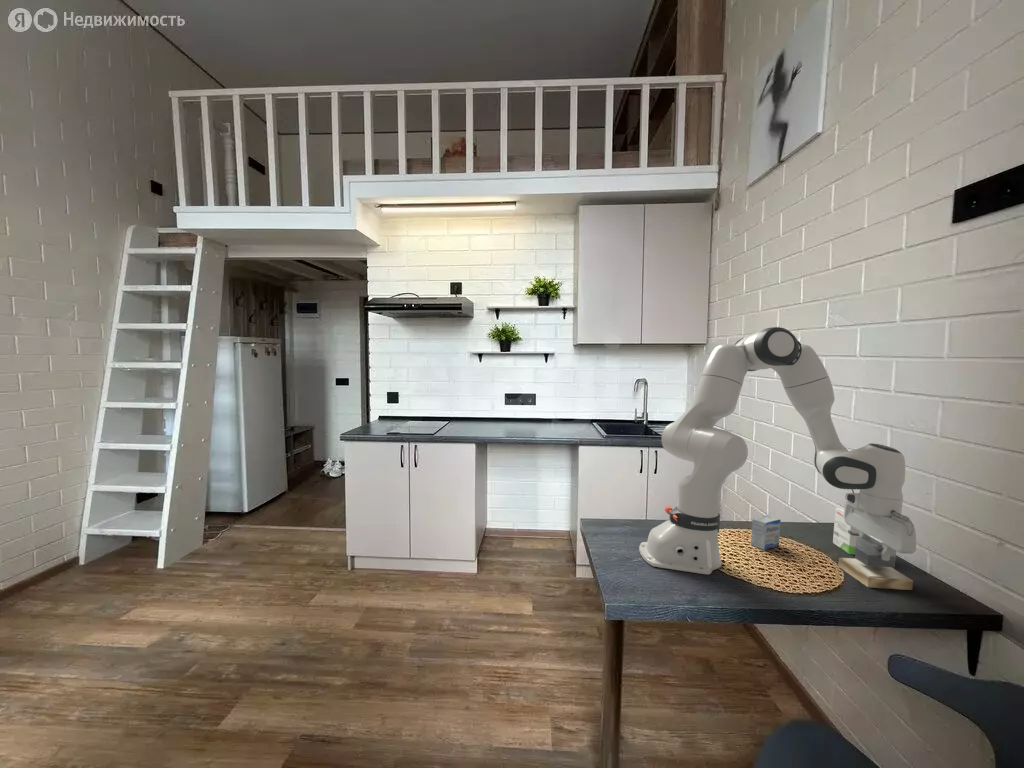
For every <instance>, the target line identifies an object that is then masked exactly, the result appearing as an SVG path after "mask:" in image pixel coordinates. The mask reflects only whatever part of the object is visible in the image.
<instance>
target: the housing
mask: <svg viewBox="0 0 1024 768" xmlns="http://www.w3.org/2000/svg"><path fill="white" fill-rule="evenodd" d="M883 550H884V548H883V544H882V543H881V542H879V541H877V540H875V539H873V538H872V537H869V538H867V537H857V539H856V550H855V555H854V559H857V560H859V561H860V562H862V563H864V564H865V565H867V566H878V567H891V568H893V569H895V567H896V556H897V551H894V552H893V553H892V554H891V555H890V560H889V561H884V560H882V559H881V558H879V552H882V551H883Z"/></svg>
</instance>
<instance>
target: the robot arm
mask: <svg viewBox="0 0 1024 768" xmlns="http://www.w3.org/2000/svg"><path fill="white" fill-rule="evenodd" d="M825 367H826V366H825V365H824V364H823V362H822V360H821V358H820V357H819V355H818V354H817V352H816V351H815V350H814V348H813V347H812V346H811V345H808V344H801V342H800V341H799V340H798V339H797V337H796V336H795V335H794V334H793V333H792V332H791V331H790V330H788V329H786V328H785V327H780V326H775V327H773V326H772V327H767V328H764V329H761V330H758V331H754V332H752V333H749V334H748V335H747V336H745V337H742V338H740V339H739V340H737V341H736V342H735V343H734V344H732V343H722V344H719V345H717V346H715V347H714V348H713V349H712V351H711V353H710V355H708V359H707V360H706V362H705V364H704V367H703V370H702V372H701V376H700V379H699V382H698V384H697V385H698V386H697V388H696V391H695V392H694V396H693V399H692V401H691V403H690V404H689V405H688V408H686V410H685V411H684V412H683V413H682V415H681V416H680V417H679V418H677V419H676V420H675V421H672V422H670V423H669V424H667V425H666V427H665V428H664V430H663V431H662V433H661V444H662V447H663V449H664V450H665V451H666V452H667V453H669V454H670V455H673V456H674V457H676V458H678V459H682V460H684V461H687V462H690V463H693V464H694V465H693V470H692V473H691V474H689V475H687V476H684V477H683V478H682V479H680V480H679V482H678V485H677V501H676V503H677V504H676V507H674V508H672V507H671V506H669V505H666V506H665V507H664V511H665V513H666V514H668V515H669V519H668V520H667V519H666V520H665V521H663V522H662V523H660V524H659V525H656V526H654V527H653V528H651V530H650V531H649V534H648V538H647V540H646V541H642V542H641V543H640V544H639V547H638V550H639V553H640V556H641V557H642V558H643V560H644V561H645V562H646V563H647V564H649V565H650V566H651V567H654V568H655V567H657V568H660V569H667V570H669V569H670V570H675V571H682V572H689V573H695V574H700V575H701V574H702V575H710V574H712V573H713V571H715V570H718V569H719V568H721V566H722V565H723V564H722V563H723V562H722V559H721V556H720V549H719V547H720V546H719V533H720V528H721V527H720V526H721V515H720V513H719V510H720V501H721V494H722V493H721V492H722V488H723V485H724V483H725V481H726V480H727V478H728V477H729V476H730V475H731V474H733V472H736V471H737V470H739V469H741V468H742V467H743V466H744V465H745V463H746V461H747V459H748V456H749V455H748V453H749V450H748V449H749V448H748V445H747V443H746V441H745V439H744V438H743V437H741V436H739V435H737V434H735V433H733V432H731V431H728V430H726V429H720V428H717V427H716V428H715V427H714V426H715V425H716V424H717V423H718V422H719V421H720V420H722V419H723V418H726V417H728V416H730V415H732V414H733V412H734V411H735V410H736V408H737V404H738V401H739V398H740V394H741V392H742V387H743V384H744V380H745V376H746V375H747V372H755V371H760V370H769V369H772V370H773V371H774V372H776V373H777V375H778V376H779V378H780V381H781V384H782V387H783V388H784V391H785V394H786V395H787V398H788V400H789V401H790V403H791V405H792V406H793V408H794V409H795V411H797V412H798V413H799V415H800V416H801V417H802V419H803V420H804V422H805V423H806V426H807V428H808V432H809V434H810V436H811V439H812V442H813V444H814V447H815V448H814V449H815V453H814V467H815V469H816V471H817V472H818V473H819V474H820V475H821V476H822V477H823V479H824V480H825V481H826V482H827V483H828V484H830V485H831V486H832V487H834V488H837V489H840V490H859V493H858V492H856V493H855V492H846V493H845V494H844V495H845V496H844V498H845V501H846V502H844V503H845V504H844V520H845V522H846V524H848V525H850V526H851V527H853V528H855V529H857V530H859V535H860V537H867V538H873V539H875V540H877V541H879V542H881V543H882V544H883V548H884V550H883V551H882V552H879V558H881V559H882V560H884V561H889V560H890V555H891V554H892V553H893V552H894V551H896V553H897V552H898V553H899V554H906V555H907V554H908V555H912V554H914V553H915V552H916V551H917V533H916V528H915V524H914V523H913V521H912V520H911V519H910V517H908V516H907V515H903V514H902V511H903V500H904V494H903V490H902V489H903V486H904V484H905V481H906V459H905V455H904V454H903V453H902V452H901V451H899V450H898V449H895V448H894V447H891V446H887V445H884V444H879V443H868V444H866V445H864V446H861V447H859V448H856V449H852V450H848V449H847V448H846V447H845V446H844V445H843V444H842V442H841V441H840V438H839V436H838V435H839V434H838V433H837V430H836V427H835V425H834V422H833V420H832V415H831V412H832V411H831V410H832V407H833V405H834V403H835V401H836V400H835V392H834V389H833V387H834V386H833V385H832V381H831V378H830V376H829V374H828V372H827V370H826V368H825Z"/></svg>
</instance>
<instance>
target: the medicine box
mask: <svg viewBox="0 0 1024 768" xmlns="http://www.w3.org/2000/svg"><path fill="white" fill-rule="evenodd" d="M751 520H752V521H751V535H750V536H751V537H750V545H751V546H752V547H756V548H758V549H760V550H762V551H766V550H769V549H772V548H775V547H779V546H780V533H781V532H780V531H781V520H782V519H779V518H777V517H774V516H771V515H764V516H759V517H756V518H752V519H751Z"/></svg>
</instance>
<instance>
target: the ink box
mask: <svg viewBox="0 0 1024 768" xmlns="http://www.w3.org/2000/svg"><path fill="white" fill-rule="evenodd" d="M844 508H845V507H844ZM844 508H843V507H836V508H835V510H834V511H835V512H834V514H835V515H834V524H833V525H834V526H833V537H832V538H833V539H832V543H833V544H834V545H835V546H837V547H838V548H840V549H841V550H842V551H844V552H845V553H847V554H849V555H854V556H855V550H856V539H857V537H860V535H859V530H857V529H855V528H853V527H851V526H850V525H848V524H846V522H845V520H844Z"/></svg>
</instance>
